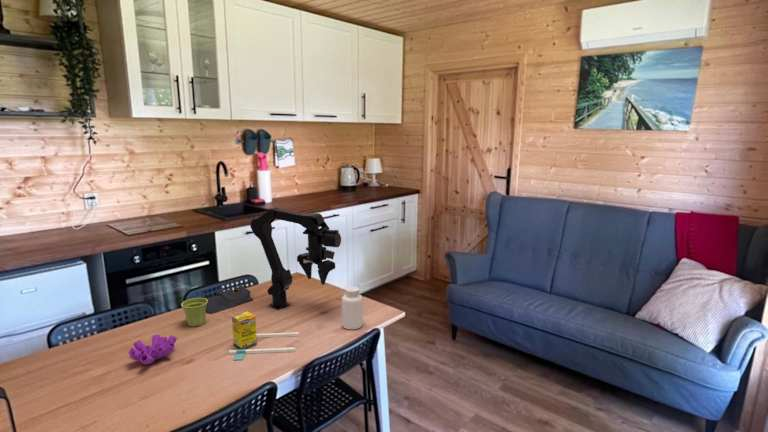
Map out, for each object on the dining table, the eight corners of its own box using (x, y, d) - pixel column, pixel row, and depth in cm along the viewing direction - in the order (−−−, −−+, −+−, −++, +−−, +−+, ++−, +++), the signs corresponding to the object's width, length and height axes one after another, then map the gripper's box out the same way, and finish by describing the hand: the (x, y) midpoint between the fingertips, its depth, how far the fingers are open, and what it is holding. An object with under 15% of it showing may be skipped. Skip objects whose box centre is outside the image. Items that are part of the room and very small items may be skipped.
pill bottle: (366, 323, 166) (366, 287, 163) (356, 331, 159) (356, 294, 156) (348, 319, 169) (348, 283, 166) (338, 327, 162) (337, 290, 159)
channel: (225, 360, 138) (225, 357, 138) (240, 332, 158) (240, 329, 158) (293, 357, 140) (293, 354, 140) (299, 329, 160) (299, 327, 160)
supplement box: (242, 350, 145) (240, 321, 142) (233, 344, 149) (231, 315, 146) (257, 344, 149) (255, 315, 147) (248, 338, 153) (246, 310, 151)
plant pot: (177, 326, 162) (175, 305, 160) (196, 316, 171) (194, 296, 169) (196, 330, 159) (194, 309, 157) (214, 320, 167) (213, 299, 166)
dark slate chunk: (192, 306, 182) (191, 295, 181) (239, 291, 198) (238, 282, 197) (209, 316, 172) (208, 305, 171) (257, 300, 188) (256, 290, 187)
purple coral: (129, 375, 136) (120, 347, 138) (176, 356, 147) (167, 331, 149) (138, 366, 129) (128, 337, 131) (187, 347, 140) (177, 320, 142)
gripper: (345, 245, 170) (346, 282, 173) (317, 237, 182) (318, 271, 186) (323, 251, 162) (324, 289, 165) (295, 242, 175) (297, 277, 178)
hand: (316, 281), depth 174 cm, fingers open, 9 cm apart
